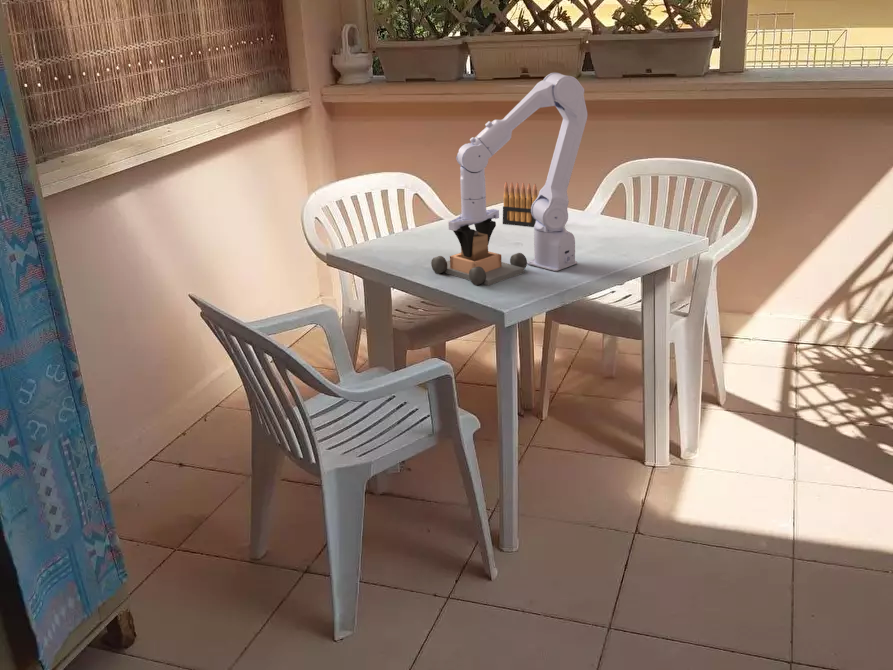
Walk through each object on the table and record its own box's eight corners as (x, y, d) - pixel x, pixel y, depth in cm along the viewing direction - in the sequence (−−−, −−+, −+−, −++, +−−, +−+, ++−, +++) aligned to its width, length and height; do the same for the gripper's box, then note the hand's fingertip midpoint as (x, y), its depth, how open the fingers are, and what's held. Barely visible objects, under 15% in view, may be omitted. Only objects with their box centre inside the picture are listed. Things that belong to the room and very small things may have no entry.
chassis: (528, 271, 209) (528, 254, 207) (482, 287, 199) (482, 269, 198) (475, 256, 221) (475, 240, 219) (430, 271, 212) (429, 254, 210)
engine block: (488, 261, 208) (487, 231, 206) (474, 265, 206) (473, 235, 203) (475, 257, 212) (474, 228, 209) (461, 261, 209) (460, 232, 206)
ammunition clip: (502, 224, 249) (501, 182, 245) (505, 222, 251) (504, 180, 246) (537, 227, 244) (536, 184, 240) (539, 225, 246) (539, 183, 241)
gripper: (483, 188, 210) (485, 243, 215) (438, 200, 201) (441, 257, 206) (504, 192, 205) (506, 249, 210) (459, 205, 196) (462, 263, 201)
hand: (475, 253), depth 208 cm, fingers closed on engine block, 4 cm apart
